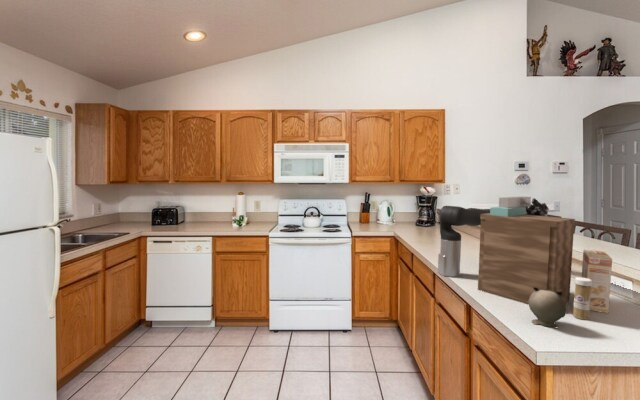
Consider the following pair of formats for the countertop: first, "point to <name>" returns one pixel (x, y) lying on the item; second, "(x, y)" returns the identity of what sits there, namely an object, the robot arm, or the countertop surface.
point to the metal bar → (514, 202)
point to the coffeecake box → (598, 278)
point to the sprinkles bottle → (582, 298)
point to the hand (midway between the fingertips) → (522, 199)
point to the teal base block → (507, 211)
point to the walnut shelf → (525, 255)
